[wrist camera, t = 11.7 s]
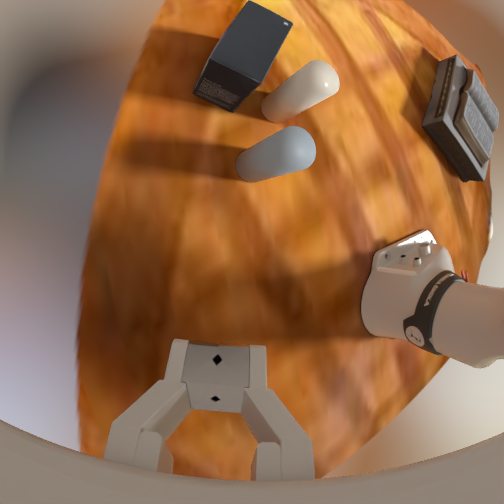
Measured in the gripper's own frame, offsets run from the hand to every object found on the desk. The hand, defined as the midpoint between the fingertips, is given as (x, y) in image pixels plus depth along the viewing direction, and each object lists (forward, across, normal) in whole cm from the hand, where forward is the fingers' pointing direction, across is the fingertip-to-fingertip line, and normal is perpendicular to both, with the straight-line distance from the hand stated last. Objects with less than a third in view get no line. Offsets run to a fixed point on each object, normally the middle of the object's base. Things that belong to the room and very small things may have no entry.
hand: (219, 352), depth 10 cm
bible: (+57, -46, -5) cm, 74 cm away
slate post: (+32, -1, +5) cm, 33 cm away
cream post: (+38, -4, -2) cm, 38 cm away
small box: (+38, +3, -7) cm, 39 cm away
